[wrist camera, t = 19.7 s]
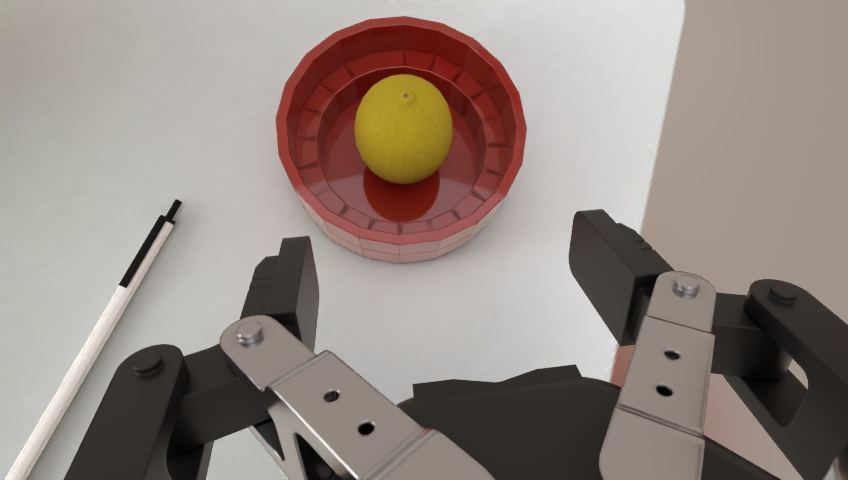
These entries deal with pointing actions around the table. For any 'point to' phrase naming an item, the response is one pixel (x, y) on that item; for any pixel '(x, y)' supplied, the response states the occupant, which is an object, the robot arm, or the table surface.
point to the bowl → (352, 179)
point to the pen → (92, 347)
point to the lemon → (403, 129)
